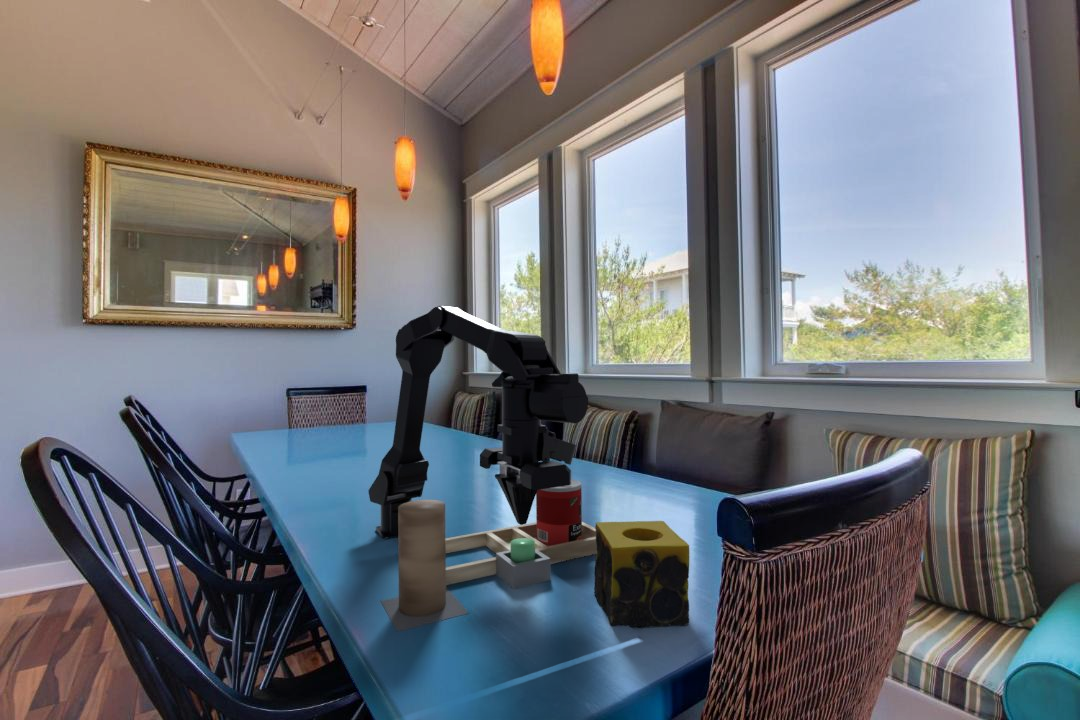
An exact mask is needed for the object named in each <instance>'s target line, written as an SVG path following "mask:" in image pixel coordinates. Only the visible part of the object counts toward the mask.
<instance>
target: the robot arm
mask: <svg viewBox="0 0 1080 720" xmlns="http://www.w3.org/2000/svg"><path fill="white" fill-rule="evenodd" d="M395 336H396V337H395V358H396V360H397V362H398V364H399V367H400V368H401V371H402V373H401V380H400V381H401V382H400V389H399V396H398V397H399V398H398V403H397V409H396V410H397V411H396V419H395V426H394V434H393V440H392V441H393V442H392V446H391V448H390V449H389V450H387V451H388V452H387V453H386V454H385V455H384V457H383V458H382V459H381V464H380V466H379V472H378V475H377V477H376V478H375V479H374V481H373V482H372V484H371V486H370V487H369V489H368V498H369V501H370V502H371V503H374V504H376V505H380V525H378V526H376V527H375V531H376V532H377V533H378V534H379V536H380V538H382V539H389V538H394V537H398V507H399V506H400V505H401V504H403V503H406V502H410V501H413V499H414V498H415V499H416V498H421V497H422V496H423V491H424V487H425V483H426V482H428V471H429V470H428V469H429V466H430V463H429V460H427V459H425V458H424V455H423V453H422V451H421V443H422V442H421V441H422V435H423V429H424V421H425V420H424V419H425V415H426V408H427V407H426V406H427V400H428V395H429V394H428V393H429V387H430V380H431V376H432V374H433V372H434V371H435V370H436V368H437V367H438V366H439V364H440V363H441V362H442V359H443V358H442V357H443V354H444V350H445V348H447V347H448V346H449V345H450V344H451V343H453V342H454V340H455V338H457V339H459V340H461V341H463V342H465V343H467V344H469V345H471V346H473V347H475V348H476V349H479V350H481V351H482V352H483V353H485V354H486V356H487V359H488V361H489V362H490V363H492V364H493V365H494V366H495V367H496V368H498V369H499V370H500V371H501V373H500V374H499V375H498V376H497V377H496V379H494V380H493V382H491V386H492V388H501V392H502V393H501V397H502V398H501V400H502V401H501V403H502V405H501V410H502V411H501V414H502V415H501V416H502V417H501V421H502V422H501V424H497V427H496V429H497V432H498V433H501V434H502V436H501V437H502V439H501V441H502V446H500V447H487V448H484V449H483V450H482V451H481V453H480V454H479V467H481V468H483V469H484V470H485V469H486V470H488V469H490V468H491V467H492V466H495V465H498V466H499V467H498V468H499V473H496V474H494V477H495V478H494V479H496V480H497V482H498V484H499V486H500V488H501V490H502V492H503V494H504V496H505V499H506V501H507V503H508V505H509V507H510V509H511V511H512V514H513V516H514V518H515V521H516V523H517V524H519V525H524V524H528V523H527V522H528V519H529V516H530V512H531V510H532V506H533V503H534V500H535V499H536V493H537V490H539V489H546V488H554V487H561V486H568V485H571V479H572V470H571V468H569V466H568V465H570V466H571V465H572V461H573V457H574V455H575V452H576V447H577V444H574V443H571V442H568V441H565V440H562V439H559V438H557V437H556V433H555V432H552V431H550V430H549V428H548V427H547V425H545V424H542V421H543V422H545V421H546V422H555V423H565V424H578V423H580V422H581V421H582V420H583V419H584V418H585V416H586V414H587V412H588V407H589V396H588V395H587V391H586V389H585V387H584V386H583V384H582V383H580V381H579V374H578V373H570V372H569V373H561V372H560V370H559V368H558V367H557V364H556V362H555V361H554V359H553V358H552V356H551V355H550V354H551V353H550V352H549V351H548V348H547V345H546V340H545V339H544V338H543V337H542V336H540V335H538V334H534V333H528V332H527V333H526V332H521V331H513V330H508V329H507V330H506V329H503V328H500V327H499V326H496V325H494V324H492V323H490V322H487V321H485V320H483V319H481V318H479V317H476V316H474V315H472V314H469V313H467V312H465V311H463V310H462V309H461V308H459V307H457V306H456V307H454V306H446V305H445V306H444V305H438V306H435V307H433V308H432V309H430V310H429V311H428V312H427V313H425V314H423V315H421V316H418V317H416V318H413V319H412V320H410V321H408V322H407V323H406V324H404V325H403V326H402V327H401V328H399V329H398V331H397V333H396V335H395ZM562 462H564V463H562Z"/></svg>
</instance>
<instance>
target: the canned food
mask: <svg viewBox="0 0 1080 720" xmlns="http://www.w3.org/2000/svg"><path fill="white" fill-rule="evenodd" d="M582 494H583V493H582V483H581V482H580V481H578V480H576V479H573V478H571V485H568V486H561V487H554V488H546V489H539V490H537V493H536V495H535V499H536V500H535V501H536V502H535V503H536V504H535V505H536V507H535V509H536V513H535V514H536V515H535V516H536V521H535V522H537V538H536V540H538V541H539V542H541V543H543V544H544V545H546V546H552V545H557V544H562V543H567V542H572V541H576V540H581V539H582V522H583V521H582V515H583V514H582V513H583V509H582V506H583V505H582V504H583V503H582V502H583V501H582V497H583V496H582Z"/></svg>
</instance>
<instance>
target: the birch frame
mask: <svg viewBox="0 0 1080 720" xmlns="http://www.w3.org/2000/svg"><path fill="white" fill-rule="evenodd" d="M518 538H528V539H532V540H534V541H535V549H537V550H538V551H540V552H541V553H543V554H544V555H546V556H547V557H549V558H550V559H551V565H552V564H557V563H562V562H567V561H571V560H575V559H574V558H576V559H579V557H580V558H583V557H584V556H585V557H588V556H592V554H593V555H597V545H596V530H595V527H594V526H592V525H590V524H587V523H586V522H583V521H582V539H581V540H576V541H572V542H567V543H562V544H557V545H552V546H546V545H544V544H543V543H541V542H539V541H538V540H537V521H535V522H531V523H526V524H523V525H520V524H519V525H513V526H507V527H502V528H496V529H491V530H485V531H481V532H479V531H478V532H475V533H468V534H463V535H457V536H452V537H445V543H446V554H448V553H454V552H460V551H465V550H470V549H476V548H481V547H482V548H483V547H487V548H489V550H491V551H493V552H494V553H495V554H496V553H499V552H504V551H509V550H511V541H512V540H514V539H518ZM570 559H571V560H570ZM566 560H567V561H566ZM561 561H562V562H561ZM493 575H496V556H495V557H490V558H484V559H479V560H475V561H470V562H466V563H461V564H460V563H459V564H456V565H455V564H454V565H451V566H446V586H448V585H453V584H454V585H455V584H458V583H462V582H467V581H471V580H475V579H481V578H485V577H490V576H493Z"/></svg>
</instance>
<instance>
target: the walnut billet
mask: <svg viewBox="0 0 1080 720" xmlns="http://www.w3.org/2000/svg"><path fill="white" fill-rule="evenodd" d="M397 537H398V540H397V541H398V546H397V547H398V548H397V550H398V597H399V611H400V612H401V613H402V614H404V615H407V616H414V617H420V616H427V615H431V614H434V613H437V612H439V611H441V610H442V609H443V608H444V607H445V605H446V587H447V585H446V567H447V565H446V562H447V561H446V555H447V553H446V543H445V538H446V503H445V502H443V501H441V500H439V499H417V500H412V501H410V502H406V503H403V504H401V505H400V506H399V507H398V536H397Z"/></svg>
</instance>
